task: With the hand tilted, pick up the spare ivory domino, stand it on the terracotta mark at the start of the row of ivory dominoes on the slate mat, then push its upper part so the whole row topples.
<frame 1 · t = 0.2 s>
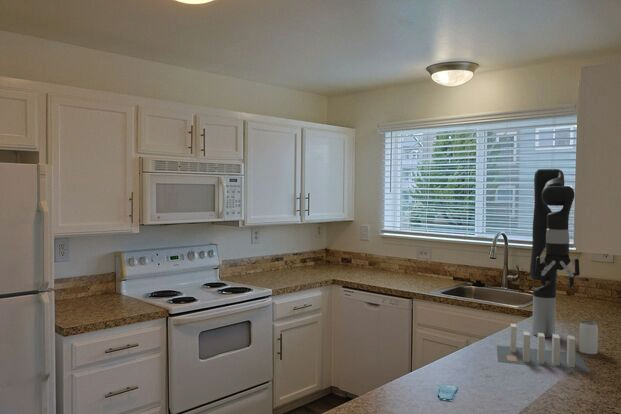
hand: (556, 286, 186), 29 cm above the counter, tool pointing down, fingers open, 8 cm apart
can: (588, 353, 204), on the counter
domino 3: (540, 361, 191), resting on slate mat
sponge: (445, 395, 161), on the counter
domino 4: (555, 363, 190), resting on slate mat
domino 5: (570, 364, 188), resting on slate mat
domino 2: (526, 360, 193), resting on slate mat
slate mat: (539, 358, 196), on the counter
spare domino: (513, 350, 204), resting on slate mat
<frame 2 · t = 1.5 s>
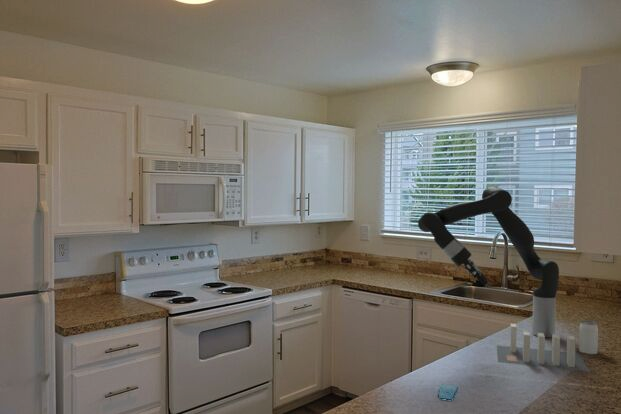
hand: (485, 282, 206), 27 cm above the counter, tool tilted 45°, fingers open, 8 cm apart
nothing on the counter moved.
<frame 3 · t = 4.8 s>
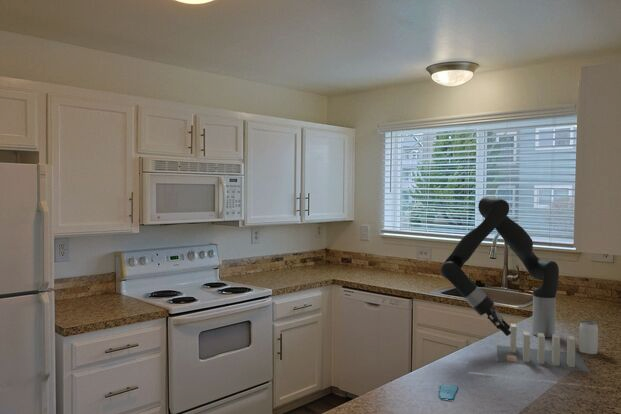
hand: (508, 331, 205), 8 cm above the counter, tool tilted 45°, fingers open, 8 cm apart
nothing on the counter moved.
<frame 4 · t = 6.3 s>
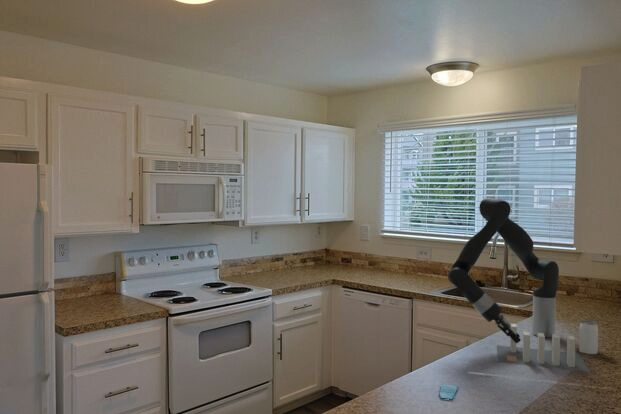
hand: (518, 339, 204), 5 cm above the counter, tool tilted 45°, fingers closed on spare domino, 5 cm apart
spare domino: (513, 350, 204), point 1 cm above the counter, touching gripper, slate mat
everything else where it was.
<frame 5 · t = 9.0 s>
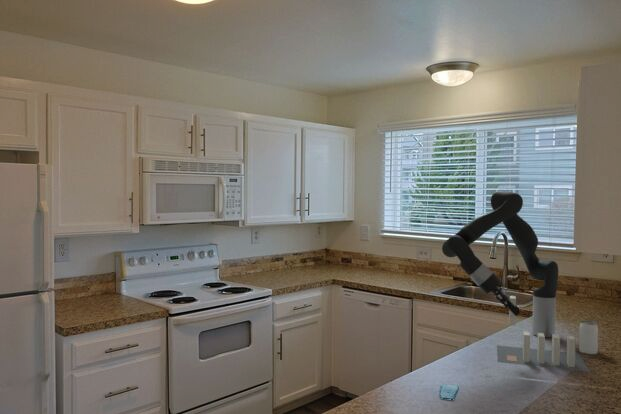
hand: (517, 312, 193), 18 cm above the counter, tool tilted 45°, fingers closed on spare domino, 5 cm apart
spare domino: (512, 323, 194), point 14 cm above the counter, touching gripper
everything else where it was.
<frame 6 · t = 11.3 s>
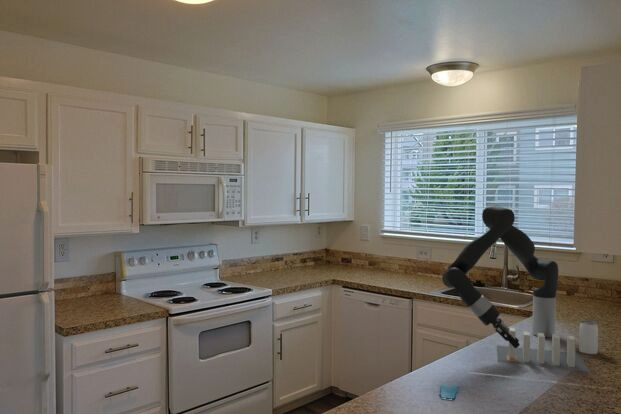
hand: (517, 344, 194), 6 cm above the counter, tool tilted 45°, fingers closed on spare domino, 4 cm apart
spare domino: (511, 355, 194), point 2 cm above the counter, touching gripper
everything else where it was.
when the fingers open (6 cm above the counter, at t = 11.6 s): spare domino stays where it is, resting on slate mat.
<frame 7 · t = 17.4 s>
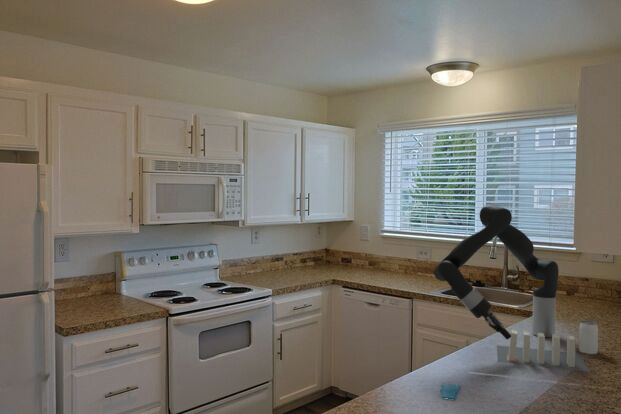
hand: (509, 337, 195), 8 cm above the counter, tool tilted 45°, fingers closed
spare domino: (511, 358, 194), point 1 cm above the counter, touching slate mat
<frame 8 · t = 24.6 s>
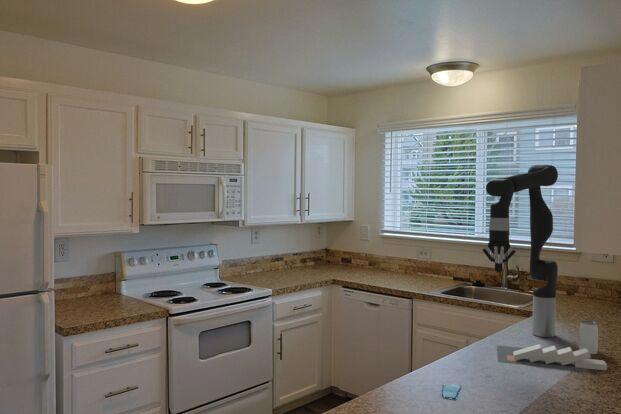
hand: (498, 272, 206), 31 cm above the counter, tool pointing down, fingers closed
domino 3: (544, 359, 191), point 1 cm above the counter, tilted 66°, touching domino 2, domino 4, slate mat
domino 4: (560, 360, 189), point 2 cm above the counter, tilted 66°, touching domino 3, domino 5
domino 5: (574, 362, 188), point 1 cm above the counter, tilted 90°, touching domino 4, slate mat
domino 2: (529, 357, 192), point 1 cm above the counter, tilted 67°, touching domino 3, slate mat, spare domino
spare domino: (514, 356, 194), point 2 cm above the counter, tilted 67°, touching domino 2, slate mat
at the end: domino 5 tilted 90°; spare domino tilted 67°; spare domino inside the target area (0.0 cm from its centre), point 1.5 cm above the counter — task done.
